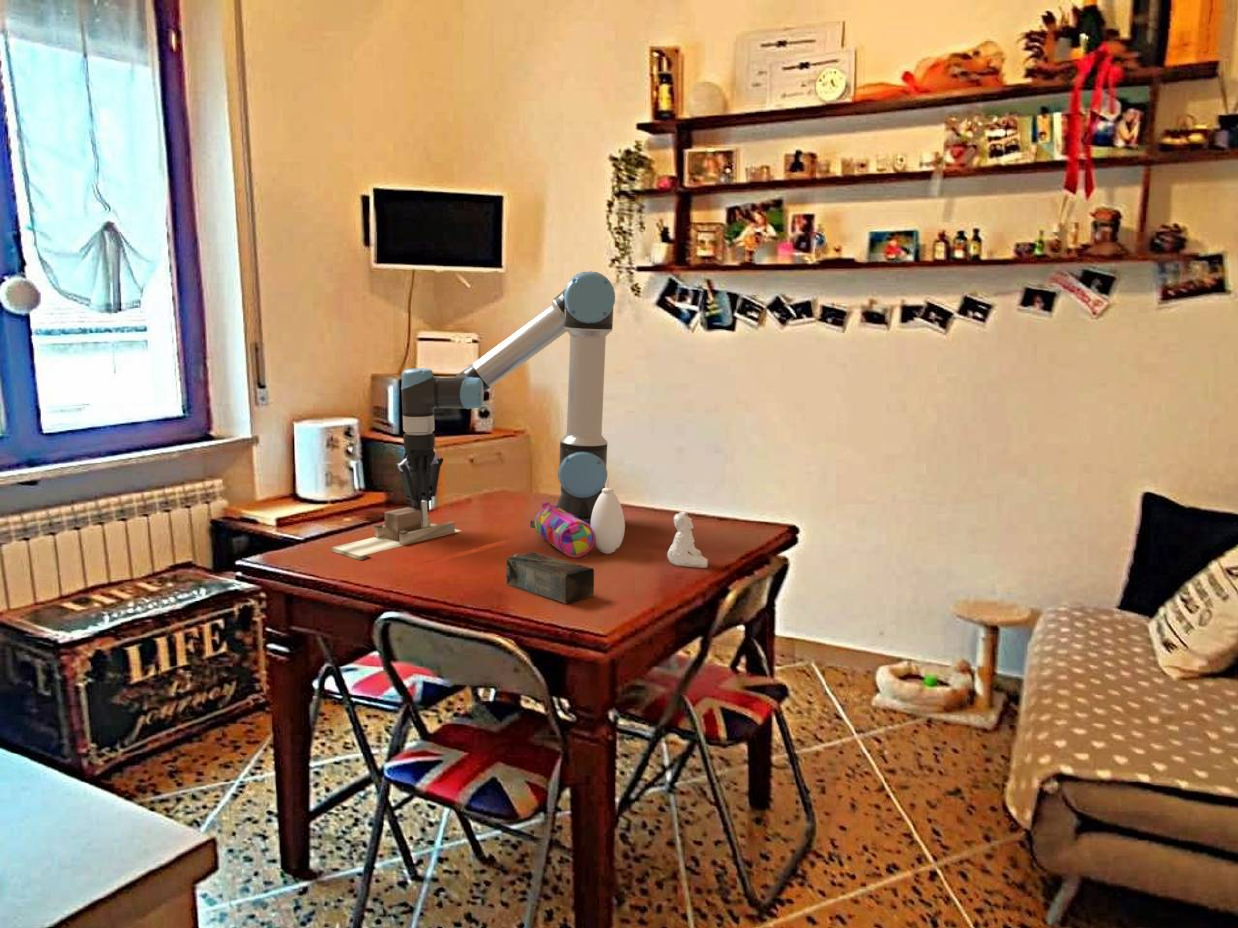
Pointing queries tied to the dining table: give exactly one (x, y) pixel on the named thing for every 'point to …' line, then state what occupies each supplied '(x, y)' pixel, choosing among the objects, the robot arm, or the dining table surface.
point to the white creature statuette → (685, 544)
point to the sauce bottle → (607, 521)
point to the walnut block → (401, 522)
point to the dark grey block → (550, 577)
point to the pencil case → (563, 530)
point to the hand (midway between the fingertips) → (422, 526)
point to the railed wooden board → (405, 538)
